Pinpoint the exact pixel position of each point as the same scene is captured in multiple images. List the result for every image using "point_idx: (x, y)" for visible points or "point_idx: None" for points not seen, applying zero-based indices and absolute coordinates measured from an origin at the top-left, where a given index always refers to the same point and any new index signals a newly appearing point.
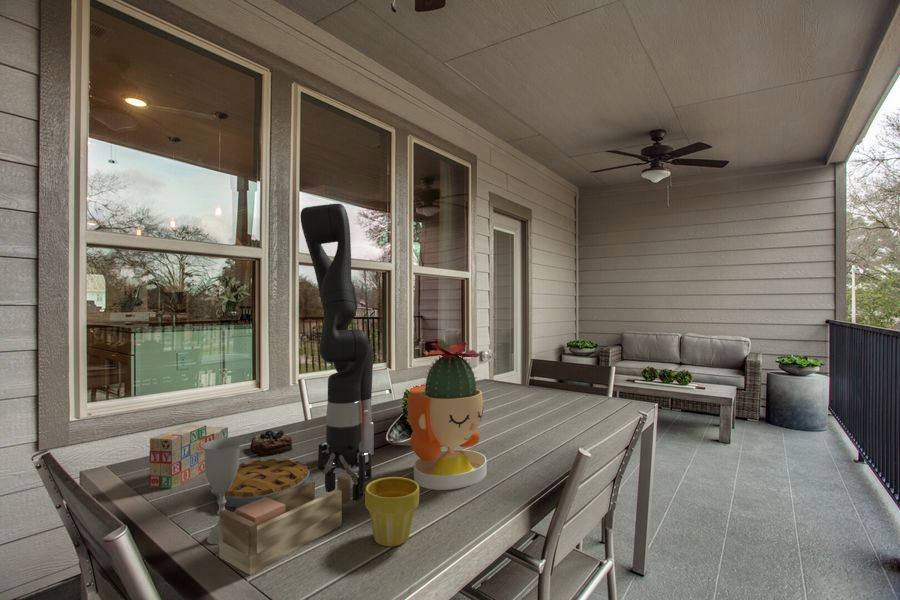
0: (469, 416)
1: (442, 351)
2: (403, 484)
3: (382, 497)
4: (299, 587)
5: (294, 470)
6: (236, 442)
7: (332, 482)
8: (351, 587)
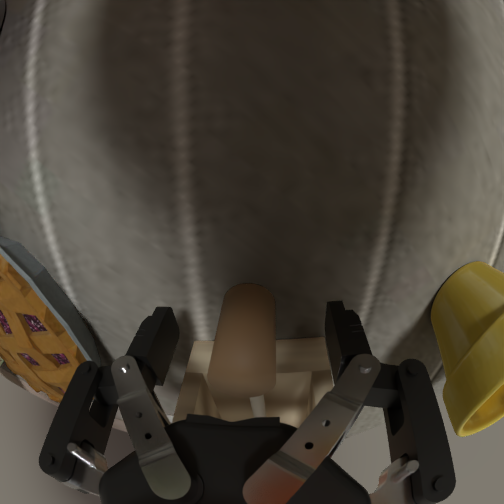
0: None
1: None
2: None
3: (501, 417)
4: (382, 420)
5: (4, 300)
6: None
7: (164, 339)
8: (441, 390)
